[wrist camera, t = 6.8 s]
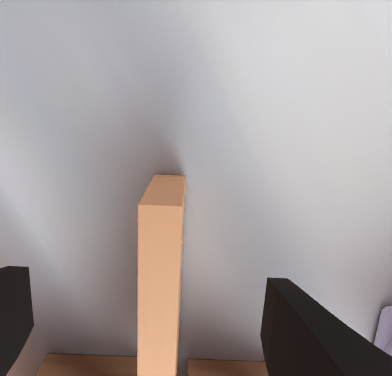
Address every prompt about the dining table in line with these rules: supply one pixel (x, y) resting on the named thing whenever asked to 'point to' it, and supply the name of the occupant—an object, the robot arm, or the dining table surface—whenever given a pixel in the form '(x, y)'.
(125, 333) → the dining table surface
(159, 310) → the tall wooden plank
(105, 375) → the wooden block
